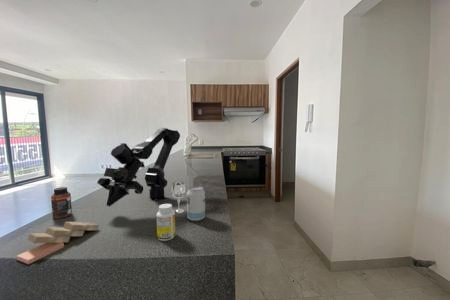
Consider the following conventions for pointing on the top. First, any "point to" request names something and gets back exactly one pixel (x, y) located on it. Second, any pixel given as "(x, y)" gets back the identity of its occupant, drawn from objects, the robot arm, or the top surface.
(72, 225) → the domino
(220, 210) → the top surface
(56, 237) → the domino
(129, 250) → the top surface
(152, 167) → the robot arm
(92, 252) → the top surface
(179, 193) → the wineglass
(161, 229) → the supplement bottle
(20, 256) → the domino
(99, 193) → the top surface
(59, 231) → the domino
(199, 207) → the beverage can
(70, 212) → the supplement bottle
